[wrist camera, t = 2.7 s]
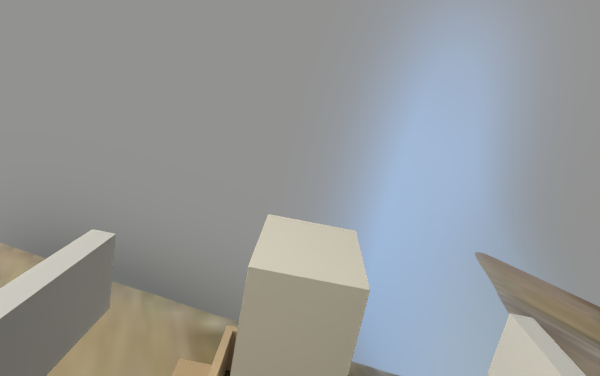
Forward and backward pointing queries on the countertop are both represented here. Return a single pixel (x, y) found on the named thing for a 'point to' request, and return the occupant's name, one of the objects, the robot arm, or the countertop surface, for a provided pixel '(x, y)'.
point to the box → (301, 301)
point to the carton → (191, 372)
